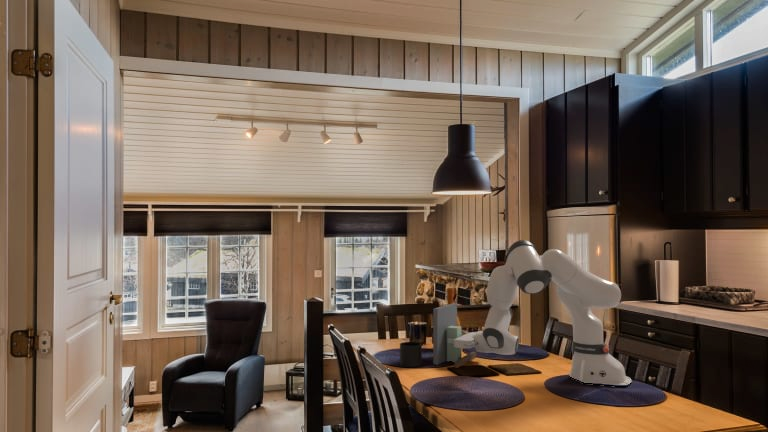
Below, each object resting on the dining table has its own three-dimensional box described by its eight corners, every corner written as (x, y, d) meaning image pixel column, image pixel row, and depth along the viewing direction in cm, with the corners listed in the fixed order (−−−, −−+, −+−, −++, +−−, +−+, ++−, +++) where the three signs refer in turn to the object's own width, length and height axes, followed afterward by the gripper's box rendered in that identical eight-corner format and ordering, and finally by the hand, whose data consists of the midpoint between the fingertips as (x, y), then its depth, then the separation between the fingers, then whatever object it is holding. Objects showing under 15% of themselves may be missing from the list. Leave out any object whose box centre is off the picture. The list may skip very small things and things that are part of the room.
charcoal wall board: (476, 357, 243) (476, 304, 244) (458, 367, 224) (457, 310, 225) (453, 354, 249) (453, 303, 250) (433, 364, 230) (433, 308, 231)
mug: (414, 360, 237) (414, 340, 237) (425, 366, 226) (425, 345, 226) (394, 361, 234) (394, 341, 234) (404, 368, 223) (404, 346, 223)
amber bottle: (454, 351, 254) (454, 289, 255) (436, 349, 260) (436, 288, 261) (464, 348, 262) (464, 287, 263) (446, 345, 268) (446, 286, 269)
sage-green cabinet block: (461, 360, 237) (461, 326, 238) (457, 362, 233) (457, 328, 234) (451, 358, 240) (451, 325, 241) (446, 361, 236) (446, 327, 236)
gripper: (473, 353, 221) (442, 349, 228) (489, 344, 239) (460, 341, 246) (473, 338, 222) (442, 335, 229) (489, 330, 239) (460, 328, 246)
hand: (452, 338), depth 237 cm, fingers open, 8 cm apart
